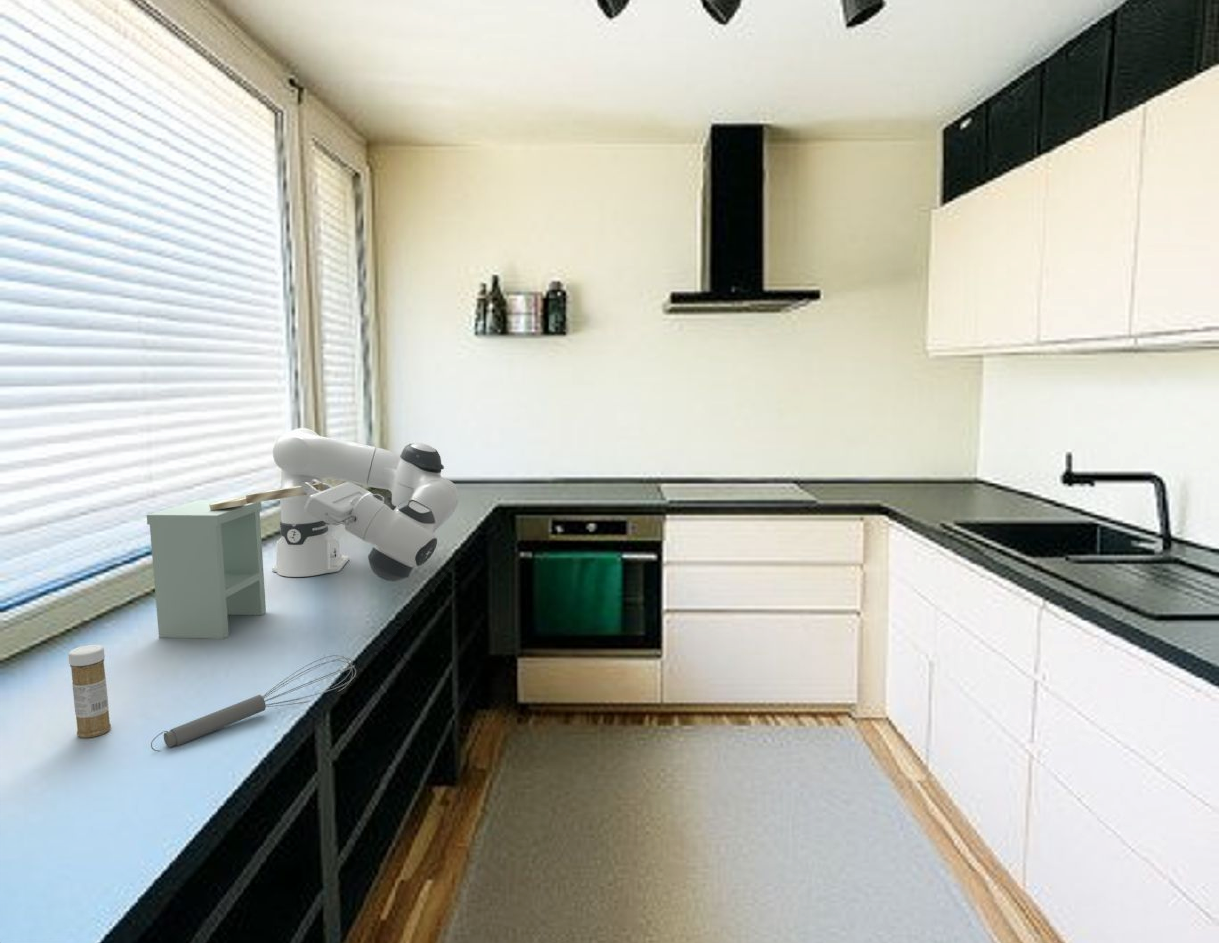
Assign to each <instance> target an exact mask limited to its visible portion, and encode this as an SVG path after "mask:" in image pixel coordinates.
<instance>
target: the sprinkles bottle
mask: <svg viewBox="0 0 1219 943" xmlns="http://www.w3.org/2000/svg"><path fill="white" fill-rule="evenodd" d="M105 656H106V655H105V648H104V646H103V645H99V644H89V645H81V646H79V647H76V648H73V649H71V650H70V651H69V652H68V664H69V667H70V668H71V670H70V671H71V680H72V683H71V684H72V685H71V686H72V693H73V703H74V714H75V718H76V719H75V720H76V728H77V731H76V735H77V736H78V737H79V738H84V739H85V738H93V737H99V736H102V735H103V734H105V733H107V732H109V731H110V730H111V728H112V725H111V723H110V722H111V721H110V713H109V712H110V711H109V699H108V698H109V697H108V686H107V678H106V669H105Z"/></svg>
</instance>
